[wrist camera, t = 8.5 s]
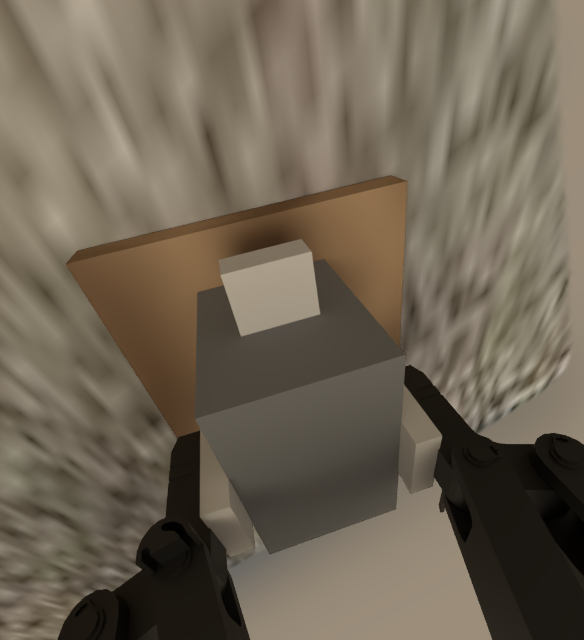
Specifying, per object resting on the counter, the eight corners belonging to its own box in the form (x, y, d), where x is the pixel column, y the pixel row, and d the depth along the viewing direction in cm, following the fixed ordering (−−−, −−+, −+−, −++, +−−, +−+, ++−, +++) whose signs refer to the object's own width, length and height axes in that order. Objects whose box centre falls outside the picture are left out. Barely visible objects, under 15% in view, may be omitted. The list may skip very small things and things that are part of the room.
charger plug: (249, 422, 16) (269, 554, 11) (177, 241, 11) (157, 350, 6) (339, 394, 17) (396, 508, 12) (318, 206, 11) (410, 280, 6)
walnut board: (194, 444, 18) (193, 463, 17) (77, 250, 11) (65, 264, 10) (387, 384, 19) (397, 398, 18) (390, 175, 12) (407, 180, 11)
